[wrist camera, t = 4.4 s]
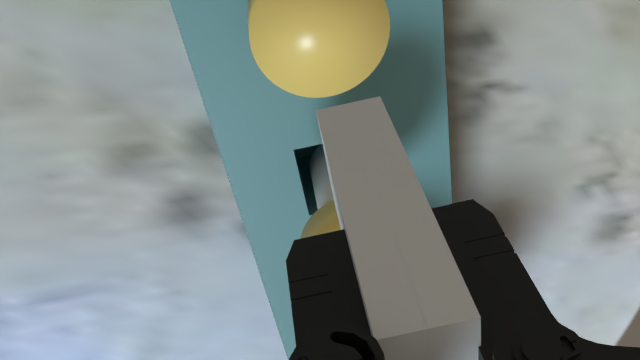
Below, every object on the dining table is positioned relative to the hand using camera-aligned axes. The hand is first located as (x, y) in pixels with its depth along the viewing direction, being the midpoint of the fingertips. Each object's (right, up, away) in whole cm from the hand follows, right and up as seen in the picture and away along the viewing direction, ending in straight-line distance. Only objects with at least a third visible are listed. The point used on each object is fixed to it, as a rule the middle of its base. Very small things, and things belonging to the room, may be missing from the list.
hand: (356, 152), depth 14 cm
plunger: (-2, +9, +12) cm, 15 cm away
